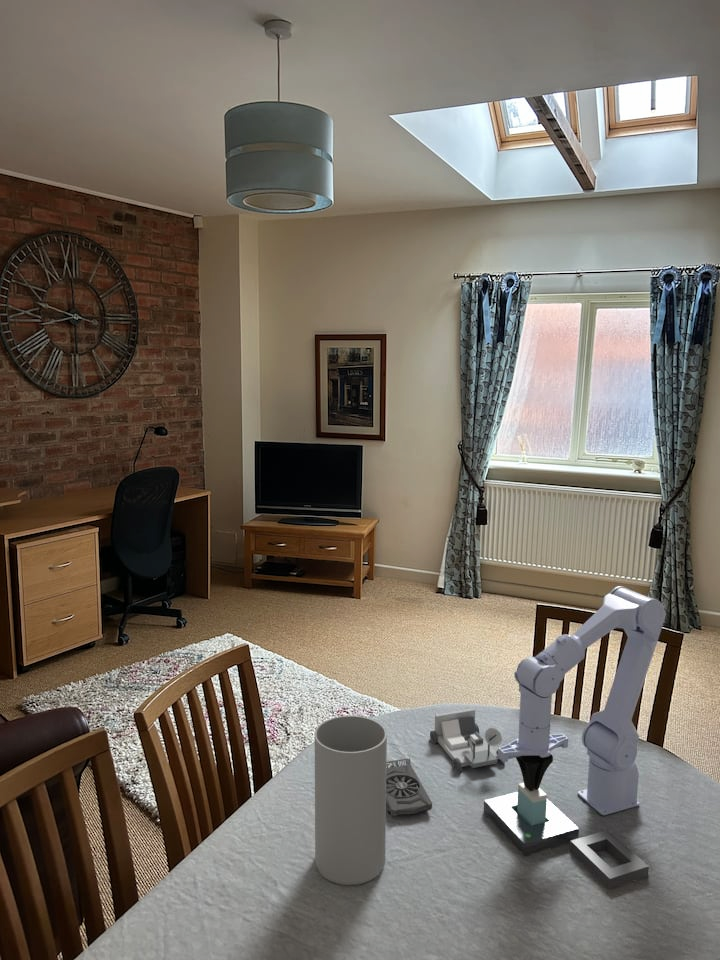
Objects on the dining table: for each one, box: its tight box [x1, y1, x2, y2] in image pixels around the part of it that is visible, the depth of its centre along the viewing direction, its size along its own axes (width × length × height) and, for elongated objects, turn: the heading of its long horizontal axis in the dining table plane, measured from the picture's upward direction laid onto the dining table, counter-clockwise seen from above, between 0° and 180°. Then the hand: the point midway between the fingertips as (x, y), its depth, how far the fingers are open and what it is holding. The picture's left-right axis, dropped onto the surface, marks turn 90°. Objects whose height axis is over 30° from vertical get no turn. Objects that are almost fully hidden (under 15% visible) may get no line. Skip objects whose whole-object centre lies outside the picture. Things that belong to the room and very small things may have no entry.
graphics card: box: [386, 756, 433, 817], centre depth 150 cm, size 17×4×12 cm
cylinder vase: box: [314, 715, 388, 886], centre depth 128 cm, size 12×12×25 cm
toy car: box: [429, 707, 506, 773], centre depth 164 cm, size 18×10×12 cm
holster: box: [569, 829, 650, 890], centre depth 130 cm, size 8×10×2 cm
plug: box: [517, 781, 548, 827], centre depth 139 cm, size 3×5×8 cm, turn 22°
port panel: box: [483, 791, 580, 857], centre depth 140 cm, size 12×14×3 cm
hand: (531, 787), depth 139 cm, fingers closed
